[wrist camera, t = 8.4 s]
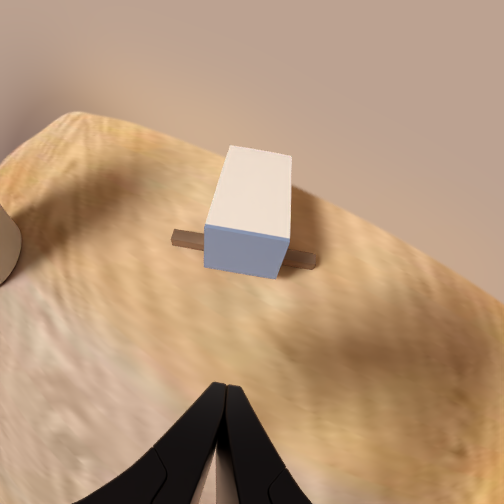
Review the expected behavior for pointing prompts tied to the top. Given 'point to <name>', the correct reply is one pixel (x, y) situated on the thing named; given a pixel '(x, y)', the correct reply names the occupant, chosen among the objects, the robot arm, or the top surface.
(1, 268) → the beige jar
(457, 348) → the top surface
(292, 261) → the strip
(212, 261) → the plain white block
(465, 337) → the top surface
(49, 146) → the top surface
